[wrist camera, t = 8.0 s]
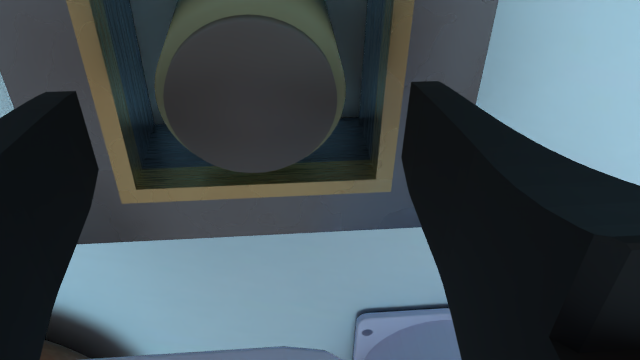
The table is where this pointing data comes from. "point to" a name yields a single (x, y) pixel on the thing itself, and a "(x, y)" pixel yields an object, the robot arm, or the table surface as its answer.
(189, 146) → the oil can
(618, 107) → the table surface
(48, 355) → the ceramic jug
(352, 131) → the grey square base
